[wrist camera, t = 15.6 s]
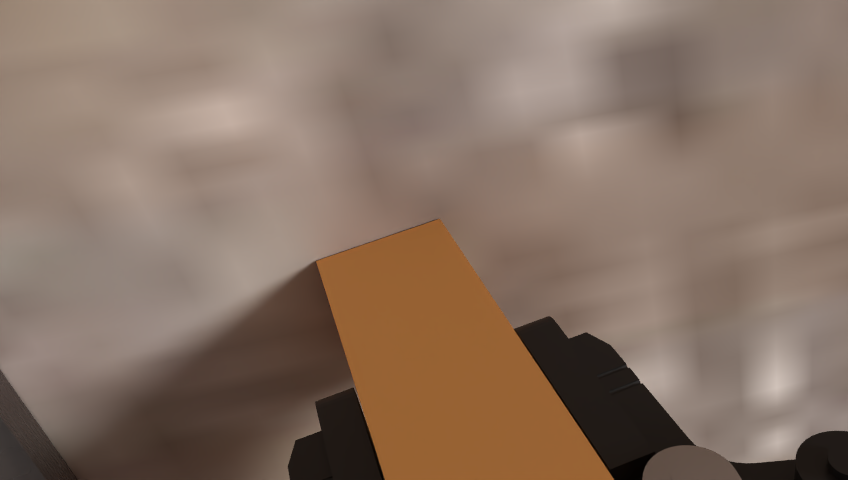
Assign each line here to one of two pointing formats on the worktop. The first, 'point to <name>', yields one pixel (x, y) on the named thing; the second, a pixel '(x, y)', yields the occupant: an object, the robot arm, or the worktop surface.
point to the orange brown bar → (446, 368)
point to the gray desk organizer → (25, 443)
